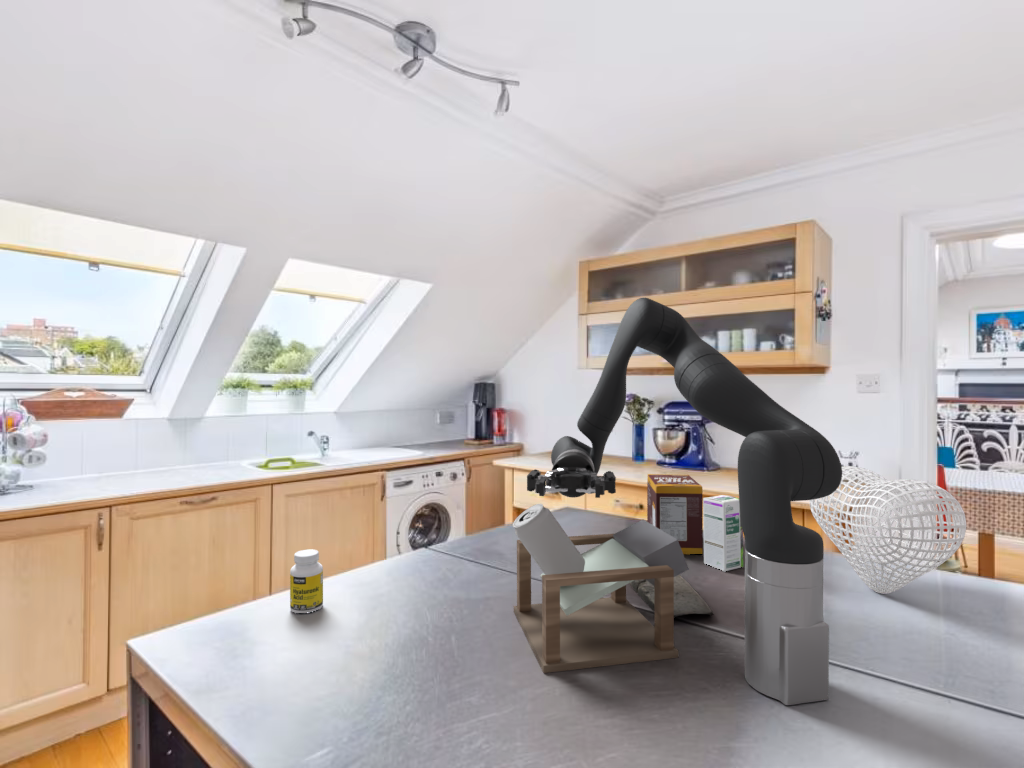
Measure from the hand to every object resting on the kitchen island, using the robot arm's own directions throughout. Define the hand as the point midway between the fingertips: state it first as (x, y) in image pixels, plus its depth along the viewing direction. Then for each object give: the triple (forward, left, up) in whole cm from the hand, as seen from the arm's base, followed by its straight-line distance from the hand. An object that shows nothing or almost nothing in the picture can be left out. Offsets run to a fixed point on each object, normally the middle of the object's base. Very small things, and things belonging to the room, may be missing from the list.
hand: (569, 490), depth 85 cm
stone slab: (+16, -23, -24) cm, 37 cm away
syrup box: (+25, -42, -23) cm, 54 cm away
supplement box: (+41, -39, -23) cm, 61 cm away
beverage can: (+2, -1, -14) cm, 14 cm away
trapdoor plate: (+2, -8, -16) cm, 18 cm away
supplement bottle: (+21, +41, -23) cm, 52 cm away
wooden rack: (+2, -4, -23) cm, 23 cm away
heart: (+6, -62, -23) cm, 66 cm away
